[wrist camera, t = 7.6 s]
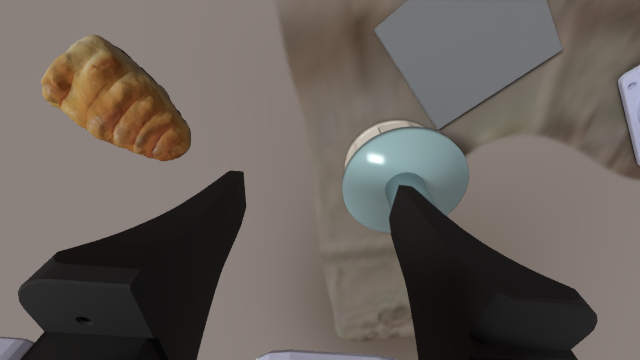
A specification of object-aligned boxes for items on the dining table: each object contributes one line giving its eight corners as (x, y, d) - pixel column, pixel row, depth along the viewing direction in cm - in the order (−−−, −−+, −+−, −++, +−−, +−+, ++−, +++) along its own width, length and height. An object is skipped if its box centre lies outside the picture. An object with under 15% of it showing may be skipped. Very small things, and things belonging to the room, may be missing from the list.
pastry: (214, 119, 22) (195, 139, 19) (173, 168, 25) (150, 193, 21) (97, 23, 18) (49, 28, 15) (64, 93, 21) (17, 109, 18)
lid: (483, 190, 21) (524, 240, 16) (382, 241, 24) (394, 294, 20) (429, 98, 17) (465, 131, 13) (318, 174, 20) (316, 221, 16)
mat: (557, 48, 18) (562, 49, 18) (436, 127, 22) (437, 129, 21) (511, -91, 15) (516, -94, 14) (373, 29, 18) (374, 30, 18)
